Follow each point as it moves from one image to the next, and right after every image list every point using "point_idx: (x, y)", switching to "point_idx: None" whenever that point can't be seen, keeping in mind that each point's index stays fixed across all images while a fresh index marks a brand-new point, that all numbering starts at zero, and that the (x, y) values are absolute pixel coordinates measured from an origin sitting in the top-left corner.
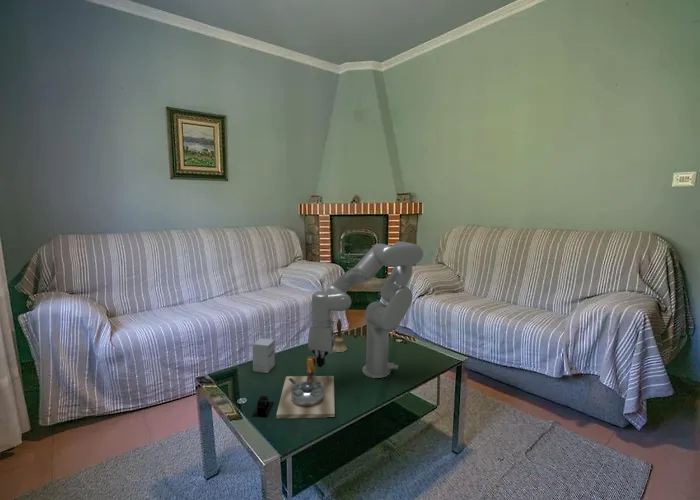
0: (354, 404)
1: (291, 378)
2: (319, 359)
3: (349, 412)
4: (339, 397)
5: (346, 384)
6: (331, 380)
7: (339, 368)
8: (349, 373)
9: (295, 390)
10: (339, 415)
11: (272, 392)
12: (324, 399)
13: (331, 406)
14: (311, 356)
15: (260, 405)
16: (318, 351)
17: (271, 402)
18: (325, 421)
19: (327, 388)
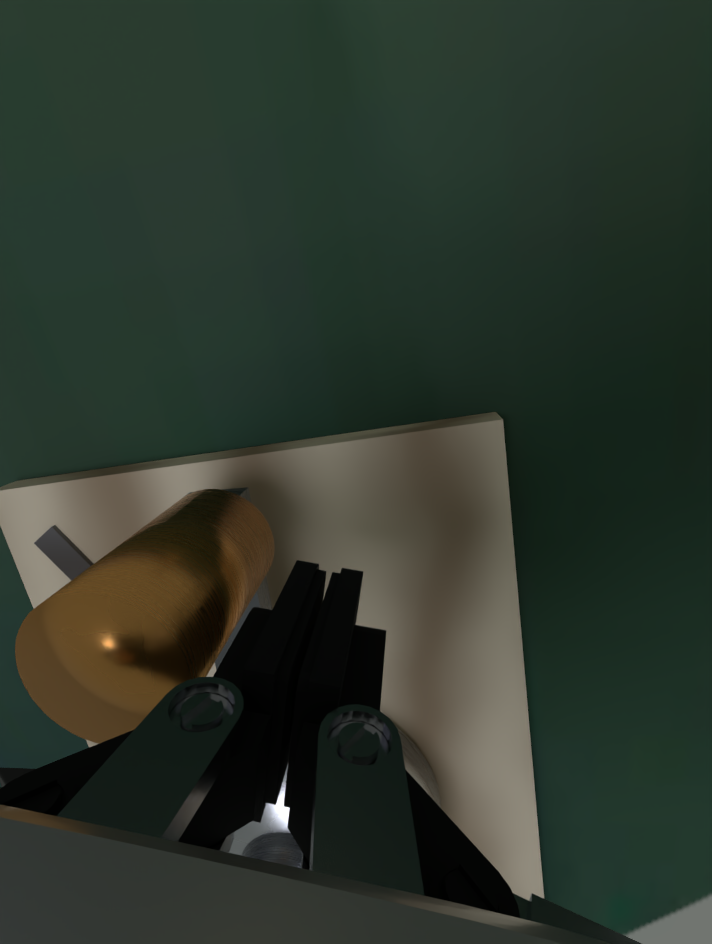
0: (705, 791)
1: (56, 535)
2: (284, 764)
3: (653, 870)
4: (571, 711)
5: (649, 500)
6: (482, 522)
7: (558, 85)
8: (708, 222)
9: None
10: (575, 894)
11: (15, 671)
12: (451, 813)
13: (518, 884)
14: (76, 608)
15: None
16: (166, 796)
17: None
18: None
19: (456, 667)
